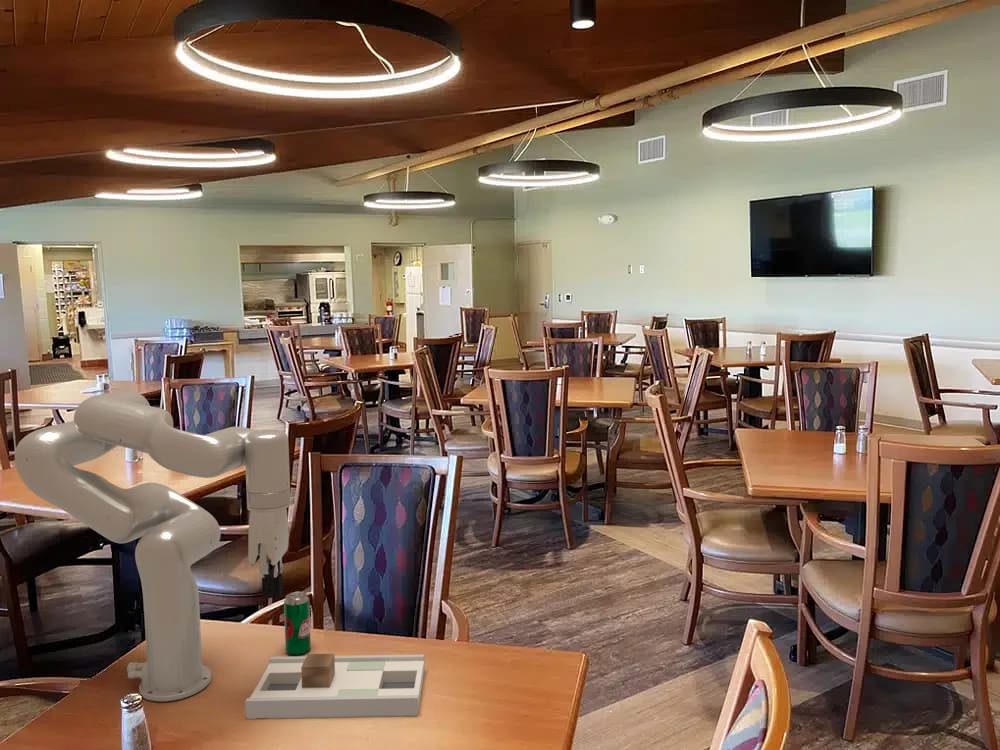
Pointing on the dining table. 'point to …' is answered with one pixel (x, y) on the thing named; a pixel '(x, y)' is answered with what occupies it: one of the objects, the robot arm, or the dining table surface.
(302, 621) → the soda can
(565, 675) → the dining table surface
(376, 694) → the box
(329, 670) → the walnut block
